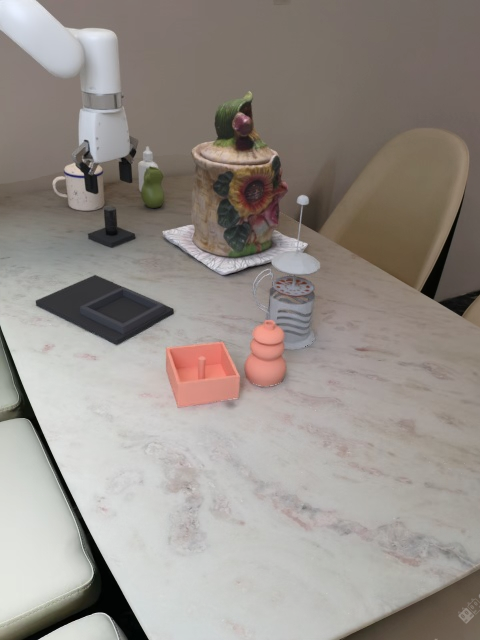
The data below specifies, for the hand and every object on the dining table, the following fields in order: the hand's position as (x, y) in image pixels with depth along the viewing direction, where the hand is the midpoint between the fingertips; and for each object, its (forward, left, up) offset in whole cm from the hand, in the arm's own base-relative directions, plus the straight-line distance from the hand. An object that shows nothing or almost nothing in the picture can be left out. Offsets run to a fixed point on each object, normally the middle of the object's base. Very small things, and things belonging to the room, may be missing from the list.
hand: (109, 186), depth 126 cm
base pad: (+22, -23, -12) cm, 34 cm away
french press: (+51, -9, -12) cm, 53 cm away
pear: (-7, +21, -12) cm, 25 cm away
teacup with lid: (-20, +9, -12) cm, 25 cm away
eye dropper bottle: (-15, +28, -12) cm, 34 cm away
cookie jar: (+22, +16, -12) cm, 29 cm away
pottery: (+52, -26, -12) cm, 59 cm away
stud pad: (0, 0, -12) cm, 12 cm away
